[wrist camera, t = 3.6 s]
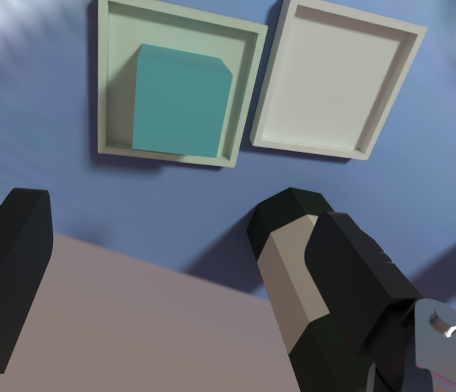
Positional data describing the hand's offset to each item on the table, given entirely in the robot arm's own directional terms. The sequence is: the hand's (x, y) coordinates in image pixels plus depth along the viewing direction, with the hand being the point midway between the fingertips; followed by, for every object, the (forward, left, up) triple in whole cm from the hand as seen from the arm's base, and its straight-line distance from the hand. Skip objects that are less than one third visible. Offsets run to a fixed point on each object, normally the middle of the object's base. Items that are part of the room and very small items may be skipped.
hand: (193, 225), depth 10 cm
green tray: (0, 0, -16) cm, 16 cm away
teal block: (0, 0, -15) cm, 15 cm away
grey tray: (-11, -2, -16) cm, 19 cm away
